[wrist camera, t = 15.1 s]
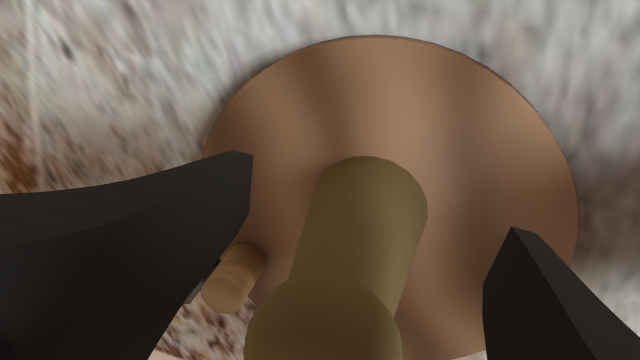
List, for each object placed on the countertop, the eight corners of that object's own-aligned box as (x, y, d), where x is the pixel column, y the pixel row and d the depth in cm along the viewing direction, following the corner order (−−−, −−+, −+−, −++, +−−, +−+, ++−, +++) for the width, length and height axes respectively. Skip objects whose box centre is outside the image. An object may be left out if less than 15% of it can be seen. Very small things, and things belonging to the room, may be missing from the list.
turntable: (516, -47, 16) (541, -51, 12) (603, 328, 23) (639, 413, 18) (154, 115, 24) (91, 147, 20) (295, 355, 31) (270, 418, 26)
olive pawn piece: (397, 271, 23) (363, 487, 13) (299, 226, 23) (198, 405, 14) (450, 186, 20) (453, 390, 10) (335, 136, 20) (237, 287, 11)
